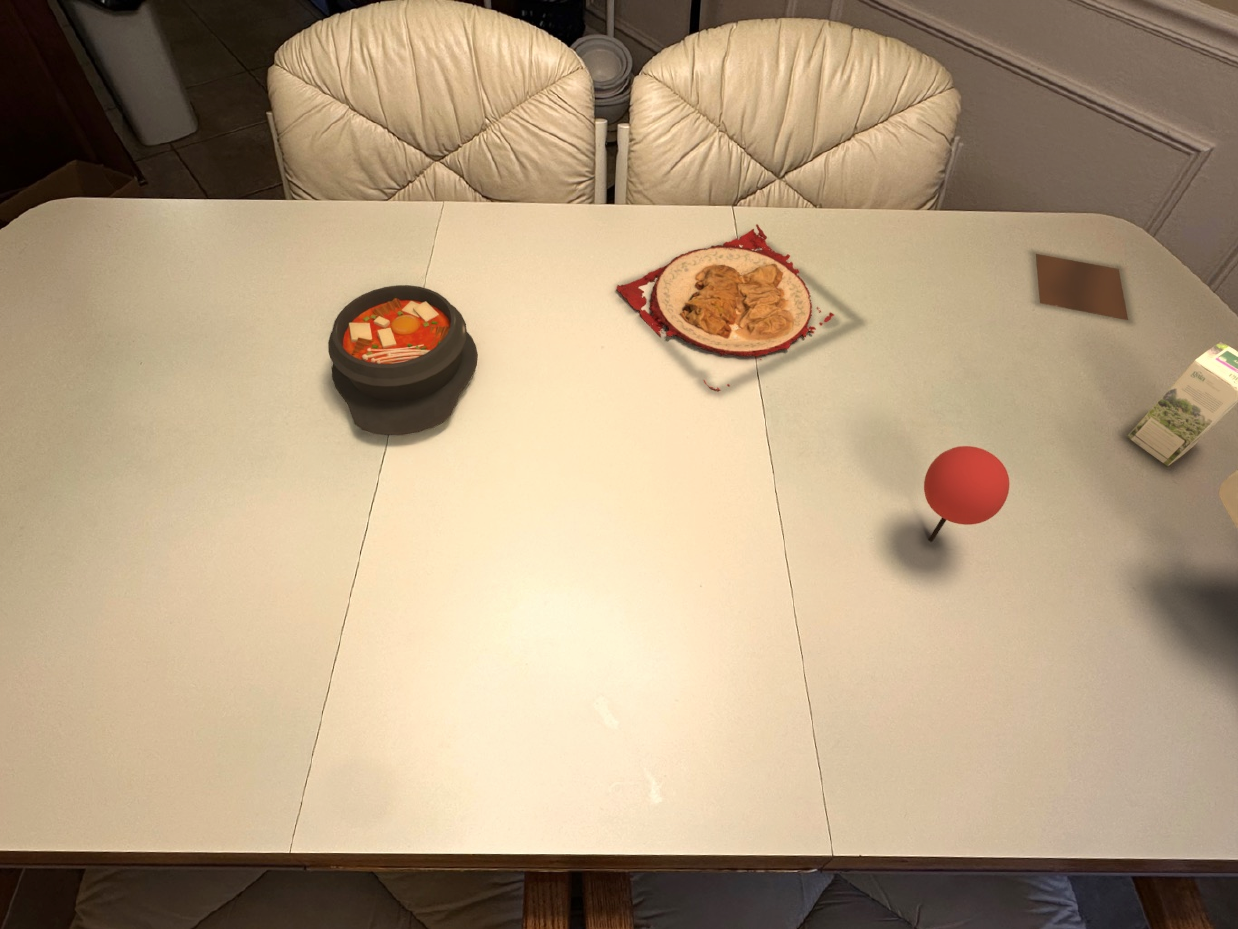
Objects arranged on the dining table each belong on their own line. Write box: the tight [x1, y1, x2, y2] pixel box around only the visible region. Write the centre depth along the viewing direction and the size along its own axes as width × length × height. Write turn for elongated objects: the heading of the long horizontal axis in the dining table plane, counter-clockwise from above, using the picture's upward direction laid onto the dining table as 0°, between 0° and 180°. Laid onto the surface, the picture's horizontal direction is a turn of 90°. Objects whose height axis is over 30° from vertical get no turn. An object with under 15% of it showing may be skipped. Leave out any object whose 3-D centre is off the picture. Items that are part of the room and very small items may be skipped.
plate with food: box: [616, 223, 835, 391], centre depth 105 cm, size 24×26×4 cm
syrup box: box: [1126, 341, 1238, 467], centre depth 87 cm, size 6×6×14 cm
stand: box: [1035, 253, 1129, 321], centre depth 110 cm, size 12×12×1 cm
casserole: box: [327, 284, 479, 436], centre depth 94 cm, size 25×19×8 cm
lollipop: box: [923, 445, 1010, 543], centre depth 77 cm, size 8×8×15 cm
